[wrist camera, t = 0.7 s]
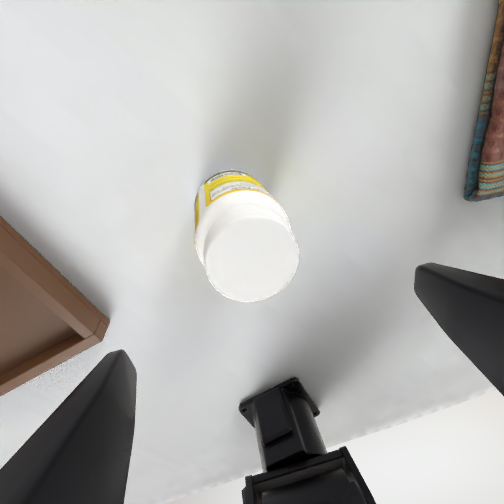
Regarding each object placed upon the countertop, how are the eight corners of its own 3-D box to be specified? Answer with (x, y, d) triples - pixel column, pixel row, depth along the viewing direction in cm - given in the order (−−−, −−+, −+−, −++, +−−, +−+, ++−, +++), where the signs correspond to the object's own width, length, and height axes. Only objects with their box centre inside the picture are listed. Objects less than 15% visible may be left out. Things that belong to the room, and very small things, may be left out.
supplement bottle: (237, 249, 21) (260, 326, 13) (180, 213, 19) (169, 279, 11) (279, 196, 19) (331, 248, 12) (223, 152, 18) (242, 181, 10)
